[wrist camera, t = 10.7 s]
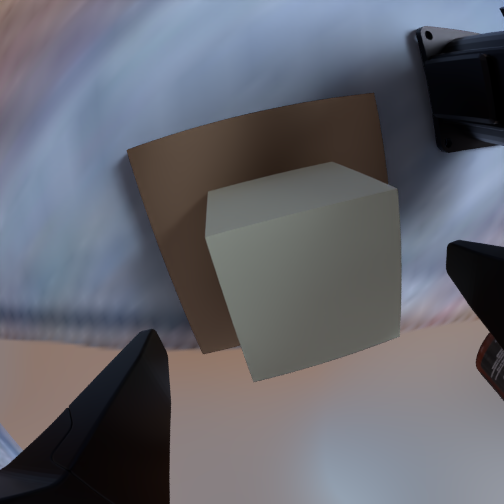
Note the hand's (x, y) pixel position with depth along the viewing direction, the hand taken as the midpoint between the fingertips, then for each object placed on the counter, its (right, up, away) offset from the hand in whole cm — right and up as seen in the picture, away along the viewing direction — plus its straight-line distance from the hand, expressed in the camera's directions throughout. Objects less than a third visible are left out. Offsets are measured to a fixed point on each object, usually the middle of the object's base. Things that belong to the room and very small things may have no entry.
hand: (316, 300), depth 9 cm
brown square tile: (-1, +3, +6) cm, 6 cm away
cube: (0, +2, +5) cm, 5 cm away
